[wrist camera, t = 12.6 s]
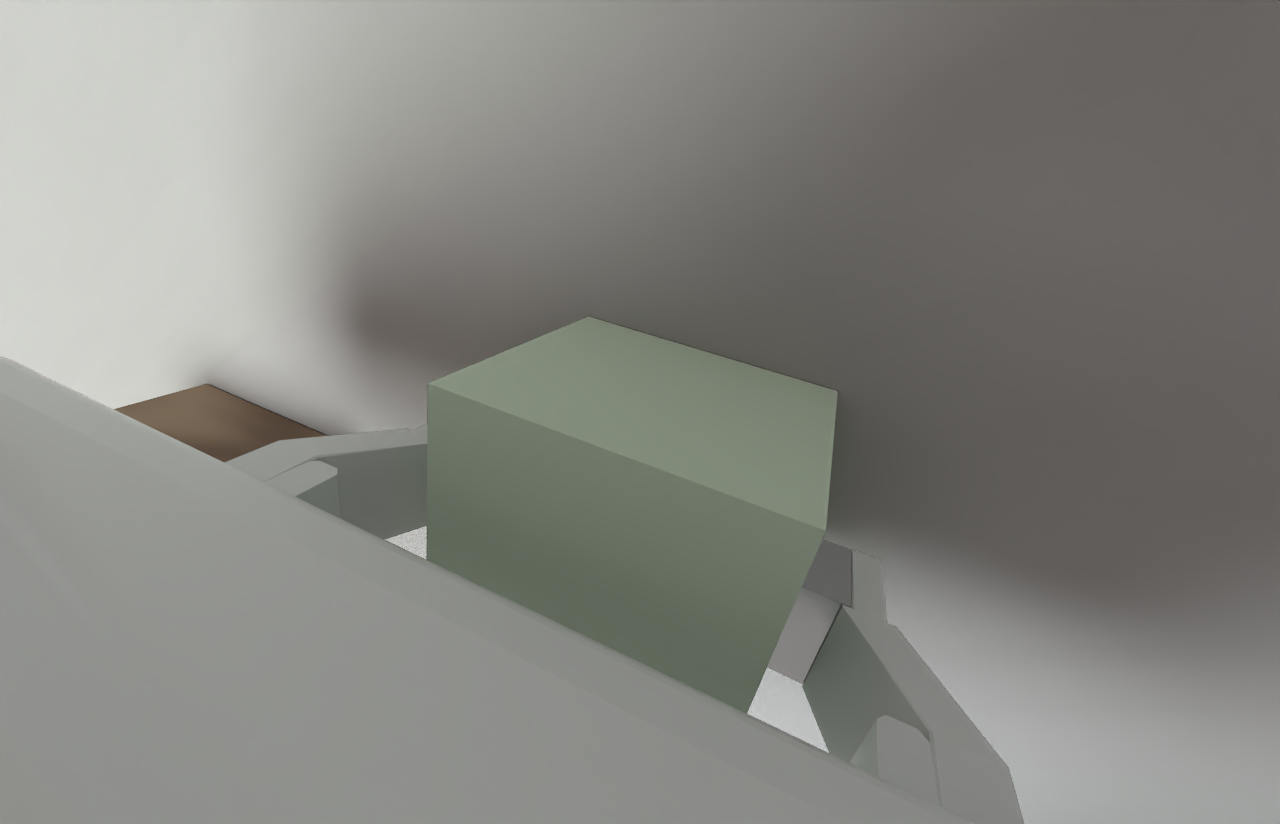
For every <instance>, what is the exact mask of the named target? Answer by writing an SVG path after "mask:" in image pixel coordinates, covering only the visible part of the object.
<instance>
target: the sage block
mask: <svg viewBox="0 0 1280 824" xmlns="http://www.w3.org/2000/svg"><path fill="white" fill-rule="evenodd" d="M837 395H838V391H836V390H832V389H829V388H826V387H822V386H819V385H816V384H812V383H809V382H806V381H802V380H799V379H796V378H792V377H789V376H786V375H782V374H779V373H776V372H772V371H769V370H766V369H762V368H759V367H756V366H752V365H749V364H746V363H742V362H739V361H736V360H732V359H729V358H726V357H722V356H719V355H716V354H712V353H709V352H706V351H702V350H699V349H696V348H692V347H689V346H686V345H682V344H679V343H676V342H672V341H669V340H666V339H662V338H659V337H656V336H652V335H649V334H646V333H642V332H639V331H636V330H632V329H629V328H626V327H622V326H619V325H616V324H612V323H609V322H606V321H602V320H599V319H596V318H592V317H589V316H588V317H586V318H583V319H581V320H578V321H576V322H574V323H571V324H569V325H566V326H564V327H562V328H559V329H557V330H554V331H552V332H550V333H547V334H545V335H542V336H540V337H538V338H535V339H533V340H530V341H528V342H526V343H523V344H521V345H518V346H516V347H514V348H511V349H509V350H506V351H504V352H501V353H499V354H497V355H494V356H492V357H489V358H487V359H485V360H482V361H480V362H477V363H475V364H473V365H470V366H468V367H465V368H463V369H461V370H458V371H456V372H453V373H451V374H449V375H446V376H444V377H441V378H439V379H437V380H434V381H432V382H429V383H428V406H427V560H428V561H430V562H432V563H434V564H436V565H438V566H440V567H442V568H444V569H446V570H449V571H451V572H453V573H455V574H457V575H459V576H461V577H463V578H465V579H467V580H469V581H471V582H474V583H476V584H478V585H480V586H482V587H484V588H486V589H488V590H490V591H492V592H494V593H496V594H498V595H501V596H503V597H505V598H507V599H509V600H511V601H513V602H515V603H517V604H519V605H521V606H524V607H526V608H528V609H530V610H532V611H534V612H536V613H538V614H540V615H542V616H545V617H547V618H549V619H551V620H553V621H555V622H557V623H559V624H561V625H563V626H565V627H568V628H570V629H572V630H574V631H576V632H578V633H580V634H582V635H584V636H586V637H588V638H590V639H593V640H595V641H597V642H599V643H601V644H603V645H605V646H607V647H609V648H611V649H613V650H615V651H618V652H620V653H622V654H624V655H626V656H628V657H630V658H632V659H634V660H636V661H638V662H640V663H642V664H645V665H647V666H649V667H651V668H653V669H655V670H657V671H659V672H661V673H663V674H665V675H667V676H669V677H672V678H674V679H676V680H678V681H680V682H682V683H684V684H686V685H688V686H690V687H692V688H694V689H697V690H699V691H701V692H703V693H705V694H707V695H709V696H711V697H713V698H715V699H717V700H719V701H721V702H724V703H726V704H728V705H730V706H732V707H734V708H736V709H738V710H740V711H742V712H744V713H746V714H747V712H748V710H749V707H750V705H751V703H752V700H753V698H754V696H755V693H756V691H757V689H758V687H759V684H760V682H761V680H762V677H763V675H764V673H765V670H766V668H767V666H768V663H769V661H770V659H771V657H772V654H773V652H774V650H775V647H776V645H777V643H778V640H779V638H780V636H781V633H782V631H783V629H784V627H785V624H786V622H787V620H788V617H789V615H790V613H791V610H792V608H793V606H794V603H795V601H796V599H797V597H798V594H799V592H800V590H801V587H802V585H803V583H804V580H805V578H806V576H807V574H808V571H809V569H810V567H811V564H812V562H813V560H814V557H815V555H816V553H817V550H818V548H819V546H820V544H821V541H822V539H823V537H824V534H825V532H826V525H827V513H828V501H829V489H830V478H831V466H832V454H833V442H834V430H835V418H836V407H837Z"/></svg>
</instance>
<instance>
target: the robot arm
mask: <svg viewBox="0 0 1280 824" xmlns="http://www.w3.org/2000/svg"><path fill="white" fill-rule="evenodd" d="M424 526H427V424H426V425H424V426H422V427H420V428H418V429H416V430H414V431H412V430H410V429H396V430H385V431H374V432H364V433H353V434H342V435H331V436H320V437H310V438H299V439H288V440H279V441H276V442H274V443H271V444H269V445H266V446H264V447H262V448H259V449H257V450H254V451H252V452H249V453H247V454H244V455H242V456H239V457H237V458H234V459H232V460H229V461H227V462H225V463H224V462H222V461H220V460H218V459H216V458H214V457H212V456H209V455H207V454H205V453H203V452H201V451H199V450H197V449H195V448H193V447H191V446H189V445H187V444H184V443H182V442H180V441H178V440H176V439H174V438H172V437H170V436H168V435H166V434H164V433H162V432H160V431H157V430H155V429H153V428H151V427H149V426H147V425H145V424H143V423H141V422H139V421H137V420H135V419H132V418H130V417H128V416H126V415H124V414H122V413H120V412H118V411H116V410H114V409H112V408H110V407H108V406H105V405H103V404H101V403H99V402H97V401H95V400H93V399H91V398H89V397H87V396H85V395H83V394H81V393H78V392H76V391H74V390H72V389H70V388H68V387H66V386H64V385H62V384H60V383H58V382H56V381H53V380H51V379H49V378H47V377H45V376H43V375H41V374H39V373H37V372H35V371H33V370H31V369H29V368H28V367H26V366H24V365H22V364H20V363H18V362H16V361H13V360H10V359H7V358H4V357H0V824H1024V821H1023V818H1022V814H1021V810H1020V807H1019V803H1018V800H1017V796H1016V792H1015V789H1014V785H1013V781H1012V778H1011V774H1010V771H1009V768H1008V766H1007V765H1006V764H1005V763H1004V761H1003V760H1002V759H1001V758H1000V756H999V755H998V754H997V753H996V751H995V750H994V749H993V748H992V746H991V745H990V744H989V743H988V741H987V740H986V739H985V737H984V736H983V735H982V734H981V732H980V731H979V730H978V729H977V727H976V726H975V725H974V724H973V722H972V721H971V720H970V719H969V717H968V716H967V715H966V714H965V712H964V711H963V710H962V709H961V707H960V706H959V705H958V704H957V702H956V701H955V700H954V698H953V697H952V696H951V695H950V693H949V692H948V691H947V690H946V688H945V687H944V686H943V685H942V683H941V682H940V681H939V680H938V678H937V677H936V676H935V675H934V673H933V672H932V671H931V670H930V668H929V667H928V666H927V665H926V663H925V662H924V661H923V660H922V658H921V657H920V656H919V654H918V653H917V652H916V651H915V649H914V648H913V647H912V646H911V644H910V643H909V642H908V641H907V639H906V638H905V637H904V636H903V634H902V633H901V632H900V631H899V629H898V628H897V627H896V626H894V625H891V624H889V623H887V612H886V601H885V590H884V579H883V568H882V562H881V561H880V560H879V559H878V558H875V557H872V556H869V555H866V554H863V553H860V552H857V551H854V550H851V549H848V548H845V547H842V546H839V545H836V544H833V543H831V542H828V541H825V540H822V541H821V544H820V546H819V548H818V550H817V553H816V555H815V557H814V560H813V562H812V564H811V567H810V569H809V571H808V574H807V576H806V578H805V580H804V583H803V585H802V587H801V590H800V592H799V594H798V597H797V599H796V601H795V603H794V606H793V608H792V610H791V613H790V615H789V617H788V620H787V622H786V624H785V627H784V629H783V631H782V633H781V636H780V638H779V640H778V643H777V645H776V647H775V650H774V652H773V654H772V657H771V659H770V661H769V663H768V666H767V667H768V668H770V669H772V670H774V671H776V672H778V673H780V674H782V675H784V676H787V677H789V678H791V679H793V680H795V681H797V682H799V683H801V684H803V686H802V687H803V690H804V692H805V695H806V697H807V699H808V702H809V704H810V707H811V709H812V712H813V714H814V717H815V719H816V721H817V724H818V726H819V729H820V731H821V734H822V736H823V739H824V741H825V743H826V746H827V748H828V751H829V753H827V752H825V751H823V750H821V749H819V748H817V747H815V746H813V745H811V744H809V743H807V742H805V741H803V740H800V739H798V738H796V737H794V736H792V735H790V734H788V733H786V732H784V731H782V730H780V729H778V728H775V727H773V726H771V725H769V724H767V723H765V722H763V721H761V720H759V719H757V718H755V717H753V716H751V715H748V714H746V713H744V712H742V711H740V710H738V709H736V708H734V707H732V706H730V705H728V704H726V703H724V702H721V701H719V700H717V699H715V698H713V697H711V696H709V695H707V694H705V693H703V692H701V691H699V690H697V689H694V688H692V687H690V686H688V685H686V684H684V683H682V682H680V681H678V680H676V679H674V678H672V677H669V676H667V675H665V674H663V673H661V672H659V671H657V670H655V669H653V668H651V667H649V666H647V665H645V664H642V663H640V662H638V661H636V660H634V659H632V658H630V657H628V656H626V655H624V654H622V653H620V652H618V651H615V650H613V649H611V648H609V647H607V646H605V645H603V644H601V643H599V642H597V641H595V640H593V639H590V638H588V637H586V636H584V635H582V634H580V633H578V632H576V631H574V630H572V629H570V628H568V627H565V626H563V625H561V624H559V623H557V622H555V621H553V620H551V619H549V618H547V617H545V616H542V615H540V614H538V613H536V612H534V611H532V610H530V609H528V608H526V607H524V606H521V605H519V604H517V603H515V602H513V601H511V600H509V599H507V598H505V597H503V596H501V595H498V594H496V593H494V592H492V591H490V590H488V589H486V588H484V587H482V586H480V585H478V584H476V583H474V582H471V581H469V580H467V579H465V578H463V577H461V576H459V575H457V574H455V573H453V572H451V571H449V570H446V569H444V568H442V567H440V566H438V565H436V564H434V563H432V562H430V561H428V560H426V559H424V558H422V557H419V556H417V555H415V554H413V553H411V552H409V551H407V550H405V549H403V548H401V547H399V546H397V545H395V544H392V543H390V542H388V541H386V540H384V539H387V538H391V537H394V536H397V535H400V534H403V533H406V532H409V531H412V530H415V529H418V528H421V527H424Z"/></svg>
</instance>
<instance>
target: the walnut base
mask: <svg viewBox="0 0 1280 824" xmlns="http://www.w3.org/2000/svg"><path fill="white" fill-rule="evenodd" d="M114 410H116V411H118V412H120V413H122V414H124V415H126V416H128V417H130V418H132V419H135V420H137V421H139V422H141V423H143V424H145V425H147V426H149V427H151V428H153V429H155V430H157V431H160V432H162V433H164V434H166V435H168V436H170V437H172V438H174V439H176V440H178V441H180V442H182V443H184V444H187V445H189V446H191V447H193V448H195V449H197V450H199V451H201V452H203V453H205V454H207V455H209V456H212V457H214V458H216V459H218V460H220V461H222V462H224V463H225V462H227V461H229V460H232V459H234V458H237V457H239V456H242V455H244V454H247V453H249V452H252V451H254V450H257V449H259V448H262V447H264V446H266V445H269V444H271V443H274V442H276V441H279V440H288V439H299V438H310V437H320V436H326V435H324V434H321V433H319V432H317V431H315V430H312V429H310V428H308V427H305V426H303V425H301V424H298V423H296V422H294V421H291V420H289V419H287V418H284V417H282V416H280V415H277V414H275V413H273V412H270V411H268V410H266V409H263V408H261V407H259V406H256V405H254V404H252V403H250V402H247V401H245V400H243V399H240V398H238V397H236V396H233V395H231V394H229V393H226V392H224V391H222V390H219V389H217V388H215V387H212V386H210V385H208V384H204V385H201V386H197V387H193V388H190V389H186V390H183V391H179V392H175V393H172V394H168V395H164V396H161V397H157V398H153V399H150V400H146V401H143V402H139V403H135V404H132V405H128V406H124V407H121V408H117V409H114Z"/></svg>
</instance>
